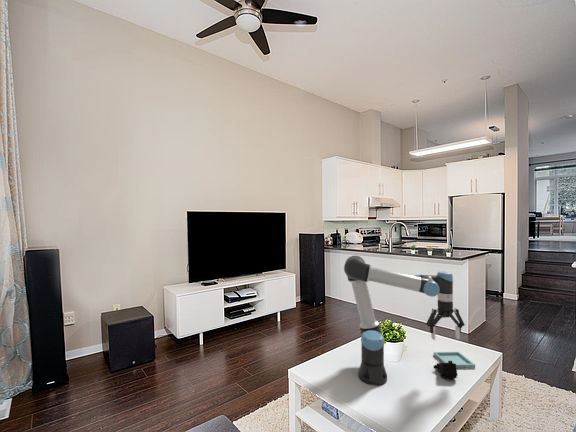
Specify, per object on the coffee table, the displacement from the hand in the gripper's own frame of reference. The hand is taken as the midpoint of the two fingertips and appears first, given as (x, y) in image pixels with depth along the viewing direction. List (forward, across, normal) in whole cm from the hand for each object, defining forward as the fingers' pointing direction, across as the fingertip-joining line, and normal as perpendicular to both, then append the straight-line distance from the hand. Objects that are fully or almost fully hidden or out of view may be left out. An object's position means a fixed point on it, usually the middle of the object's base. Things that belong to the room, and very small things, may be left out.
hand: (445, 338), depth 165 cm
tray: (+20, +13, +14) cm, 27 cm away
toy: (+20, 0, +1) cm, 20 cm away
